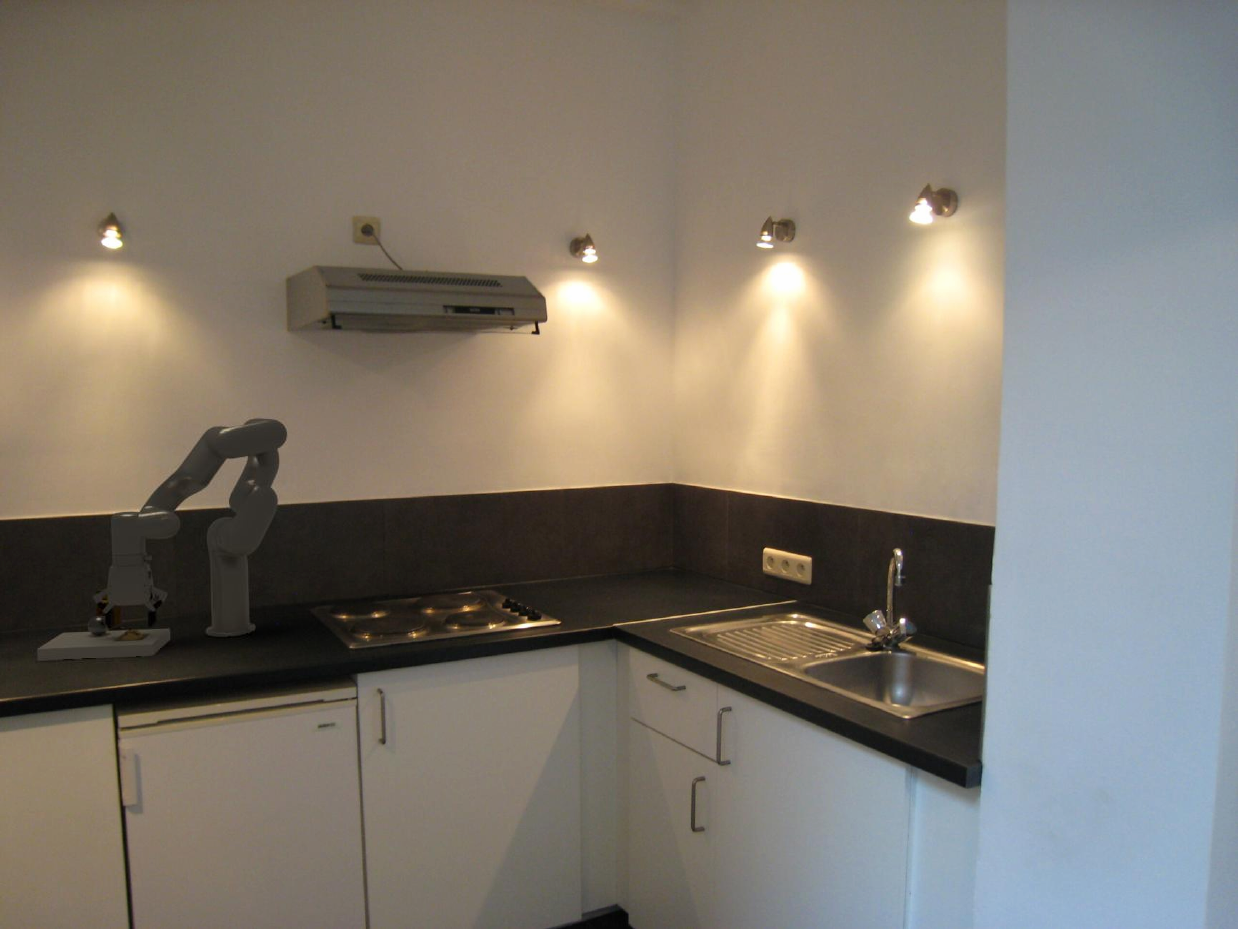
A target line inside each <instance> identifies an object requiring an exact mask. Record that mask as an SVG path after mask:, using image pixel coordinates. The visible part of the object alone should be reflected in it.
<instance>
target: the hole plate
mask: <svg viewBox="0 0 1238 929" xmlns="http://www.w3.org/2000/svg"><path fill="white" fill-rule="evenodd" d="M137 630H138V631H139V632H141V634H142V636H143V640H135V641H121V637H122V635H123V634H124V633H125V632H126V631H128V630H121V631H107V632H106V633H104V634H102V635H94V634H92V633H91V632H90V631H78V632H76V631H75V632H62V633H60V634H59V635H57V636H56V637H54V638H53V639H51V640H49V641H48V642H46V643H44V644H43V645H41V646H40V647H38V648H37V649H36V652H37V662H49V661H64V660H63V659H74V660H83V659H82V658H96V659H113V658H114V659H117V658H133V657H134V658H137V657H136V656H141V657H153V656H154V655H155V654H157V652H159V650H161V649H162V648H163V647H164V646H165V645H166V644H167V643H169V642H170V641H171V629H170V628H153V629H152V628H150V629H149V628H148V629H137ZM160 648H161V649H160Z"/></svg>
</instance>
